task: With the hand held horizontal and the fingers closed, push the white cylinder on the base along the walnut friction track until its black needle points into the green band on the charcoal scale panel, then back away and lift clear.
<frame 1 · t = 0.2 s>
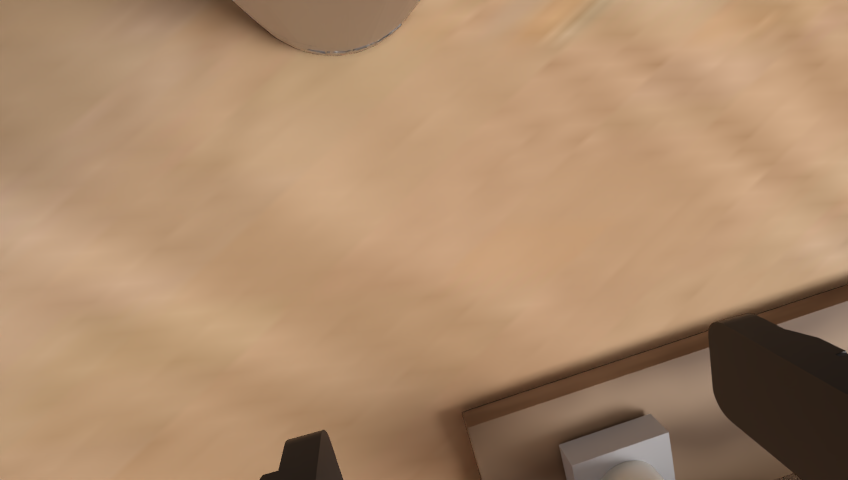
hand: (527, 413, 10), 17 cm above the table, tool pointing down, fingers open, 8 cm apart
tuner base: (722, 405, 33), on the table
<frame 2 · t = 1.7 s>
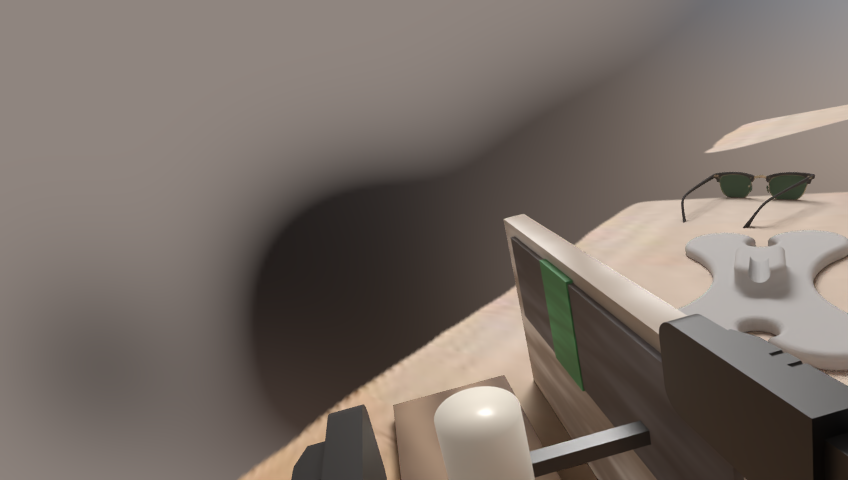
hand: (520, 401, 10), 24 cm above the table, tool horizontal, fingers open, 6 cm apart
sunglasses: (738, 213, 87), on the table
holder: (761, 293, 60), on the table
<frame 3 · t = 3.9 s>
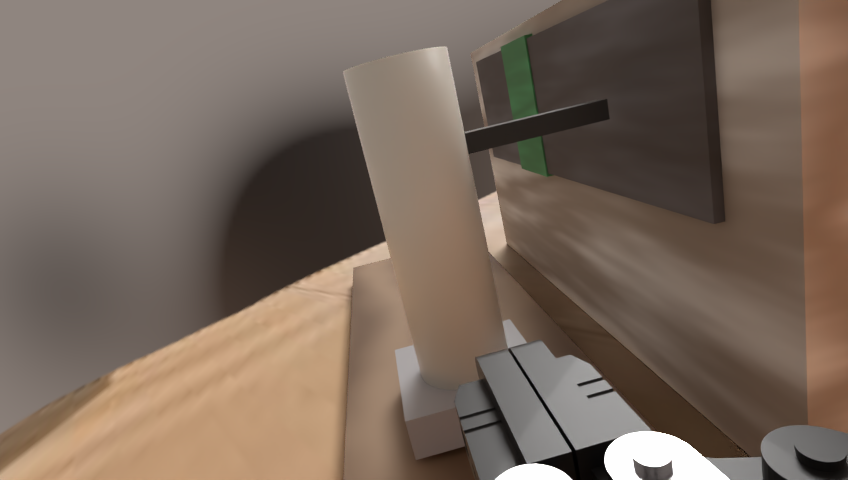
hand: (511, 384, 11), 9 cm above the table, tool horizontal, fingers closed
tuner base: (447, 344, 32), on the table
white cylinder on base: (493, 230, 21), point 9 cm above the table, slide at 2.0 cm
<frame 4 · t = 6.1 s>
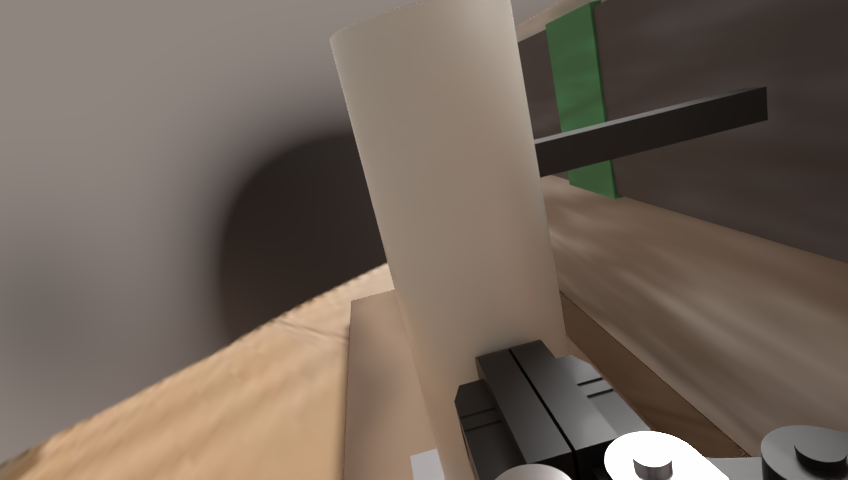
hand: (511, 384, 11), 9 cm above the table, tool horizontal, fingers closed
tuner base: (478, 426, 23), on the table
white cylinder on base: (571, 298, 13), point 9 cm above the table, slide at 2.6 cm, touching gripper
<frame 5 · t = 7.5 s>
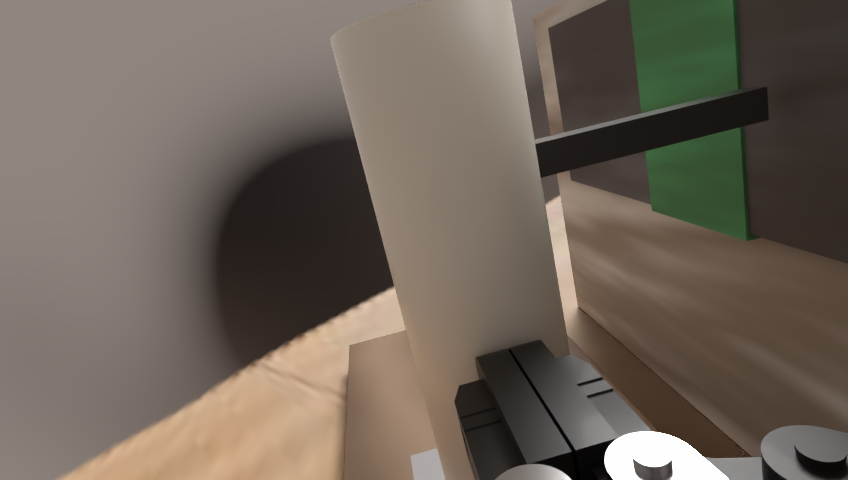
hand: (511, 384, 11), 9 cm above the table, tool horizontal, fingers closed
white cylinder on base: (571, 298, 13), point 9 cm above the table, slide at 10.6 cm, touching gripper
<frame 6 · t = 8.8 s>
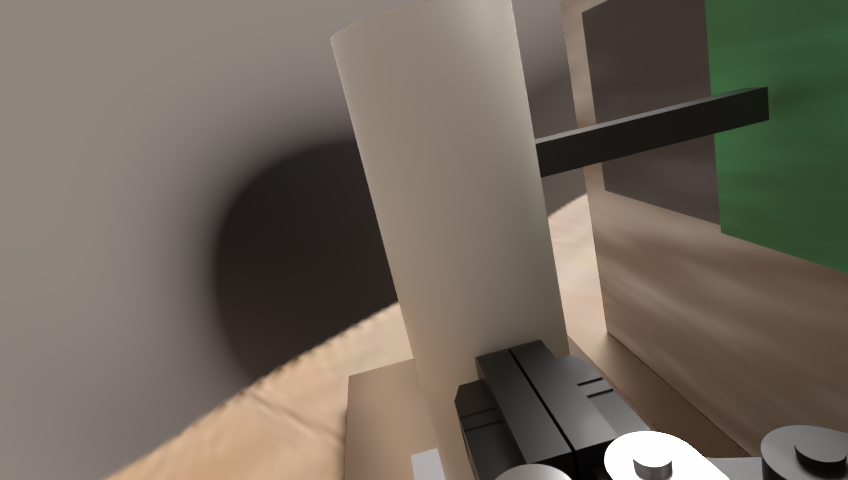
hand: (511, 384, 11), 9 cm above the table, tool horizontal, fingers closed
white cylinder on base: (572, 297, 13), point 9 cm above the table, slide at 14.4 cm, touching gripper
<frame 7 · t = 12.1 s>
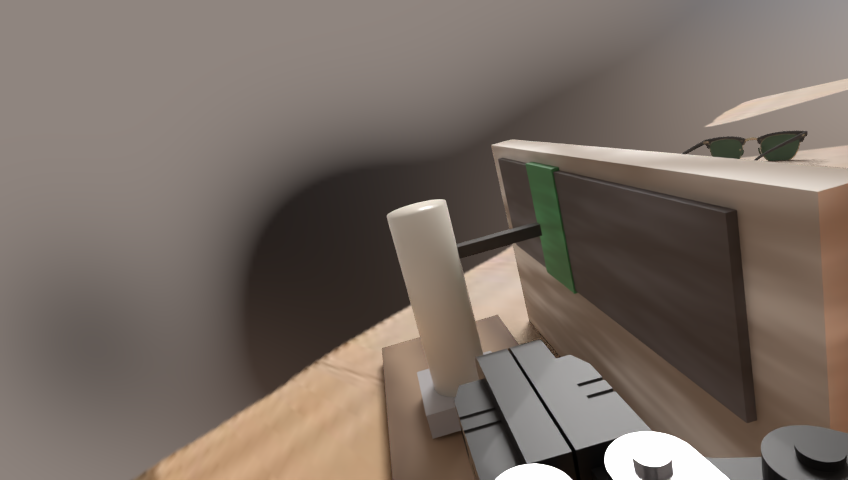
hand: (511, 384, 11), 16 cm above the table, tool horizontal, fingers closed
sunglasses: (730, 176, 84), on the table
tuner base: (483, 452, 33), on the table
white cylinder on base: (475, 300, 34), point 9 cm above the table, slide at 14.5 cm
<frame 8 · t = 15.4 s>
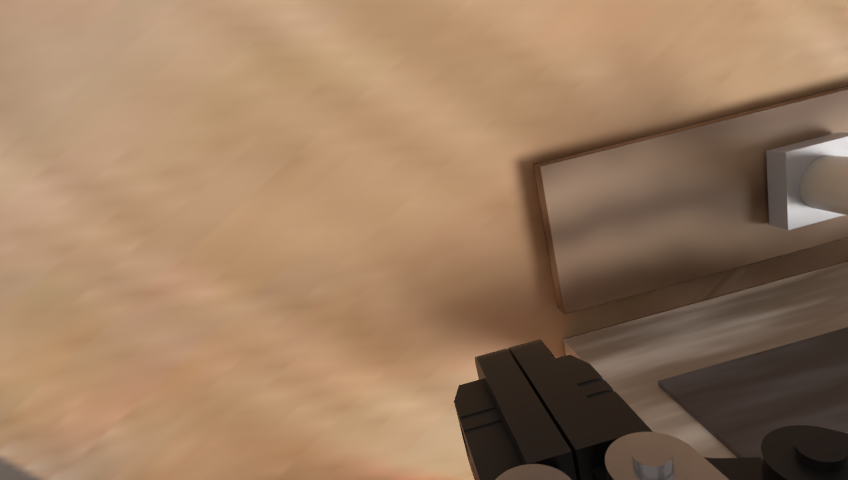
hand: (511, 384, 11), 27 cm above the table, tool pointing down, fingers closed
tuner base: (744, 187, 40), on the table
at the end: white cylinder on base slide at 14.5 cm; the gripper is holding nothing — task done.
